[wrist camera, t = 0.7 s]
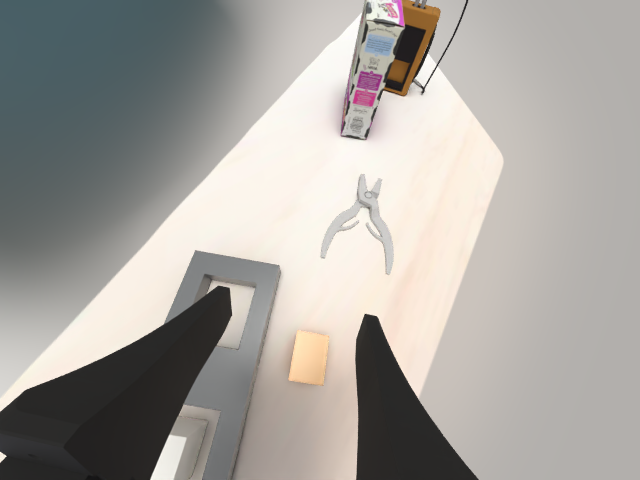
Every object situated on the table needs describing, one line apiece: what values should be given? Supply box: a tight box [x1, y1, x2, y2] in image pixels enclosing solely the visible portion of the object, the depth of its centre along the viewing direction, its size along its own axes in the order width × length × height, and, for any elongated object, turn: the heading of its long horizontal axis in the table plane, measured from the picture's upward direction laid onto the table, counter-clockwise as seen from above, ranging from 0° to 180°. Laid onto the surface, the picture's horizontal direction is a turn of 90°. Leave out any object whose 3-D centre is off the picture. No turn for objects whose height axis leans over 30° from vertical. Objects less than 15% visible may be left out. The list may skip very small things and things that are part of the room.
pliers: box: [321, 174, 394, 275], centre depth 34 cm, size 10×2×15 cm
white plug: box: [150, 416, 208, 480], centre depth 20 cm, size 4×3×5 cm
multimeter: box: [384, 0, 468, 96], centre depth 42 cm, size 15×10×20 cm
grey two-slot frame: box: [164, 250, 281, 480], centre depth 23 cm, size 24×10×2 cm, turn 171°
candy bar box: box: [341, 0, 405, 140], centre depth 37 cm, size 11×5×16 cm, turn 174°
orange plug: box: [288, 330, 329, 386], centre depth 23 cm, size 4×3×6 cm
